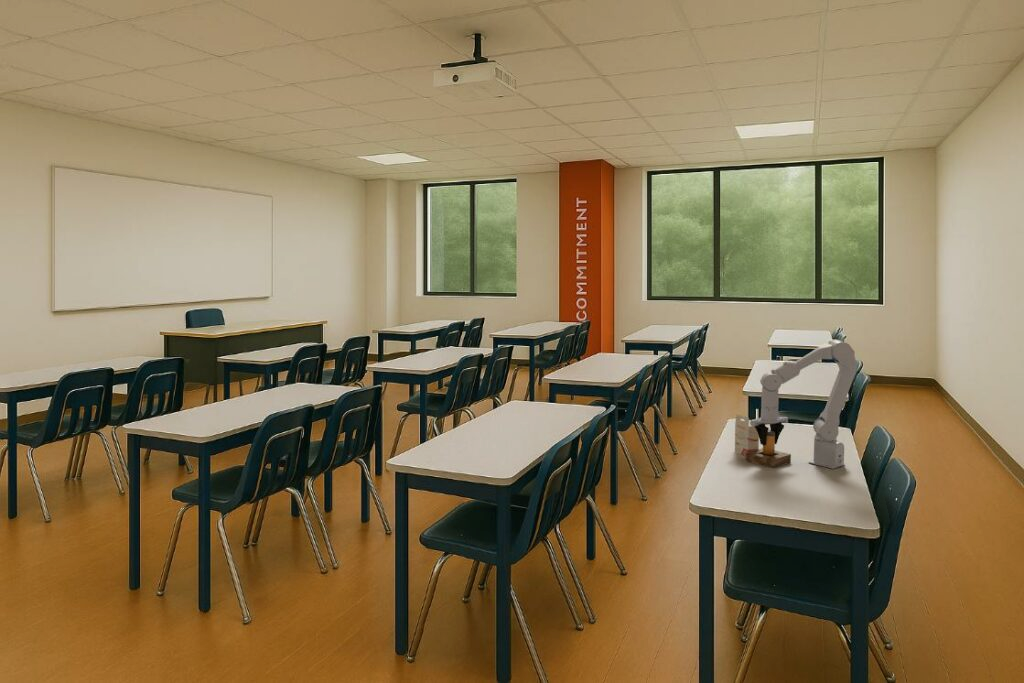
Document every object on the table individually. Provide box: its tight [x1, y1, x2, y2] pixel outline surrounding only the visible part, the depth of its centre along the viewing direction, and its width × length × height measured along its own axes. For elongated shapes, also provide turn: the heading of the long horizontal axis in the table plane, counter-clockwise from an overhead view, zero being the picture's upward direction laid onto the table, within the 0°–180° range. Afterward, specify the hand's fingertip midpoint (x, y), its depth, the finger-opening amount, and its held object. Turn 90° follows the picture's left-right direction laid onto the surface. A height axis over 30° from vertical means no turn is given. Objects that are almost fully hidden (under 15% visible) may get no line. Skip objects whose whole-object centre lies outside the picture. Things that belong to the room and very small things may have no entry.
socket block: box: [745, 447, 792, 469], centre depth 256 cm, size 11×11×3 cm
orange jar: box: [762, 429, 776, 455], centre depth 255 cm, size 4×4×8 cm
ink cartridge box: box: [734, 413, 760, 457], centre depth 266 cm, size 9×5×15 cm, turn 17°
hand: (768, 444), depth 255 cm, fingers closed on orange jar, 4 cm apart
